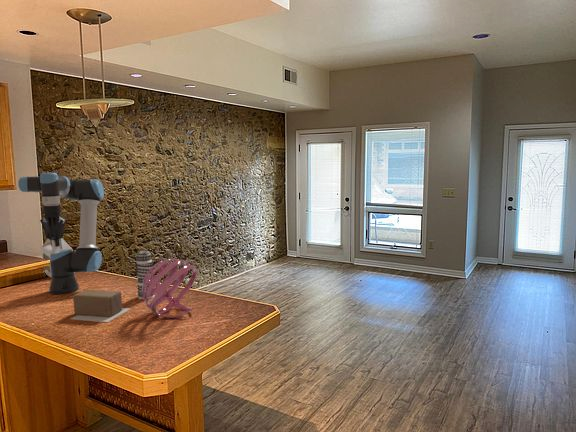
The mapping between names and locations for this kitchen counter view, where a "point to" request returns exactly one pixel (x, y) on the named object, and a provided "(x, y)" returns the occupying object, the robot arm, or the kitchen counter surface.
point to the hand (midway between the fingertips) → (56, 253)
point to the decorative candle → (143, 270)
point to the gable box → (48, 251)
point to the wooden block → (97, 303)
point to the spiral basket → (163, 286)
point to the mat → (99, 317)
